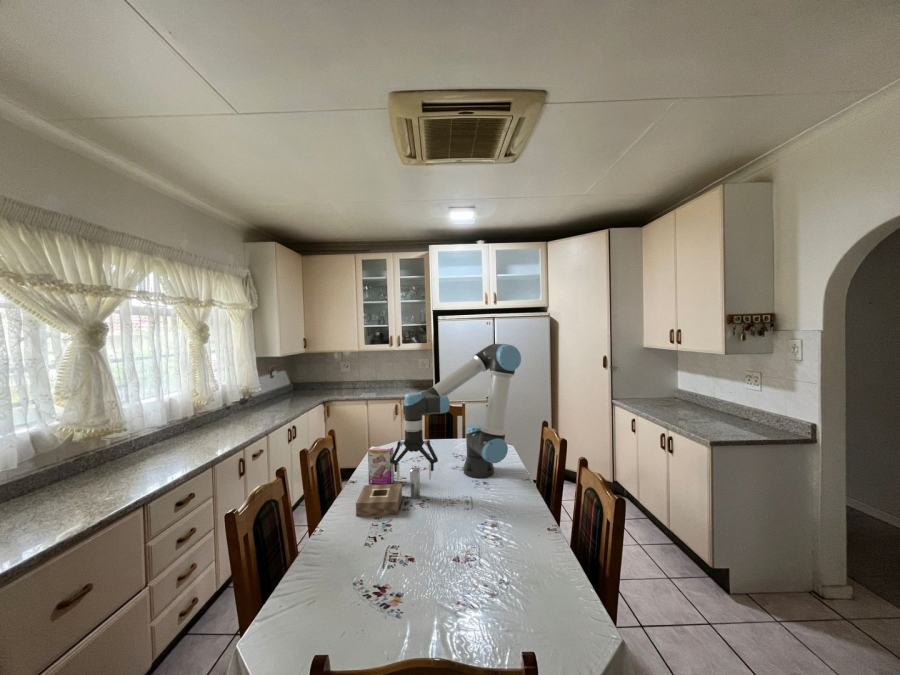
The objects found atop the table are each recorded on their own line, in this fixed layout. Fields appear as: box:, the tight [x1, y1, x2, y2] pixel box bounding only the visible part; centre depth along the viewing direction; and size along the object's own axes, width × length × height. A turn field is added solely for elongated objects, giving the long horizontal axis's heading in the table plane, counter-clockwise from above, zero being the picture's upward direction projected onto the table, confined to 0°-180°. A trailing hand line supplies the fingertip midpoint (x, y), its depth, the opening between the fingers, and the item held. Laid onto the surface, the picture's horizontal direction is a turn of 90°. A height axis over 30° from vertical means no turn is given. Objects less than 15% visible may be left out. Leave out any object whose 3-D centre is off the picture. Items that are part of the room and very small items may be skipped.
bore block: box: [355, 483, 403, 517], centre depth 145 cm, size 16×16×5 cm
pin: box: [409, 466, 421, 500], centre depth 152 cm, size 4×4×12 cm
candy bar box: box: [367, 446, 395, 485], centre depth 167 cm, size 11×5×16 cm, turn 84°
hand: (414, 478), depth 152 cm, fingers open, 13 cm apart
